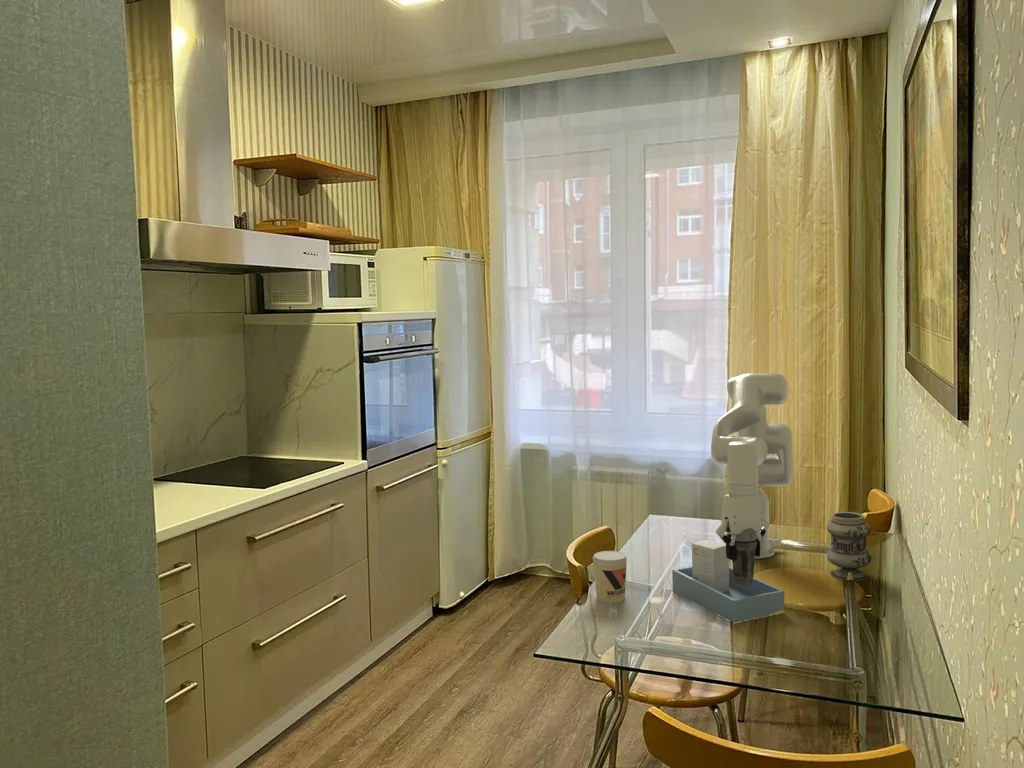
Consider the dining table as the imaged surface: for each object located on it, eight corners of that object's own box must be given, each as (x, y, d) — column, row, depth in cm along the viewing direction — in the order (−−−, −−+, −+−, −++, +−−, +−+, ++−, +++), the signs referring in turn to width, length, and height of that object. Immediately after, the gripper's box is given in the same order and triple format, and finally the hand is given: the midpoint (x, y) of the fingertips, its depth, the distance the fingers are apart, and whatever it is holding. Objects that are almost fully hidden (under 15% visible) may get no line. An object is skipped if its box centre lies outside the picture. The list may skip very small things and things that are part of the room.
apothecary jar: (837, 566, 244) (837, 507, 242) (878, 574, 235) (878, 513, 234) (819, 576, 236) (819, 515, 234) (861, 585, 227) (861, 522, 225)
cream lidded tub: (606, 606, 217) (605, 562, 216) (587, 596, 226) (586, 553, 225) (634, 599, 222) (633, 556, 221) (615, 589, 230) (614, 548, 229)
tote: (718, 582, 234) (718, 561, 233) (784, 613, 208) (784, 591, 208) (672, 590, 228) (672, 569, 227) (734, 624, 202) (733, 600, 202)
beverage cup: (760, 579, 212) (759, 504, 210) (756, 588, 205) (755, 510, 204) (731, 576, 215) (730, 502, 213) (726, 585, 208) (725, 508, 207)
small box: (729, 591, 223) (729, 544, 222) (714, 596, 219) (714, 549, 218) (706, 583, 230) (706, 538, 229) (691, 588, 226) (691, 542, 225)
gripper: (760, 483, 215) (761, 549, 216) (705, 490, 209) (706, 558, 210) (779, 488, 208) (780, 556, 209) (723, 496, 202) (724, 566, 203)
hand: (743, 556), depth 210 cm, fingers closed on beverage cup, 6 cm apart
